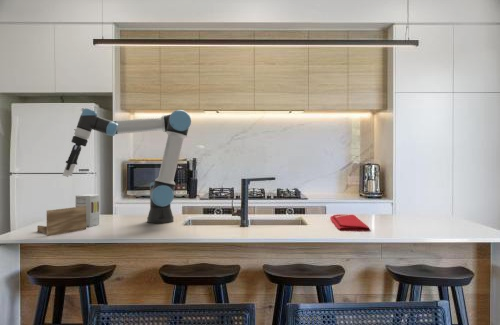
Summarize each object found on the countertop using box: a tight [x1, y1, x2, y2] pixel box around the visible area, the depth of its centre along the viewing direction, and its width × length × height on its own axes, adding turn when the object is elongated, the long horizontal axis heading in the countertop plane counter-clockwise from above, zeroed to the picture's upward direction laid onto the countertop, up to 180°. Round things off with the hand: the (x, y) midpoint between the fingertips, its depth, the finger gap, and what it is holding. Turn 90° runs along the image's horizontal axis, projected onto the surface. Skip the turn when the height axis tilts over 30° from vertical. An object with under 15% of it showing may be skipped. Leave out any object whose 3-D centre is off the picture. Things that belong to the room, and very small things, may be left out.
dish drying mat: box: [329, 214, 371, 232], centre depth 237 cm, size 16×41×4 cm, turn 176°
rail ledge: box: [37, 206, 87, 237], centre depth 217 cm, size 15×22×12 cm
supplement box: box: [75, 194, 100, 228], centre depth 235 cm, size 10×9×17 cm
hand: (67, 175), depth 223 cm, fingers open, 13 cm apart
